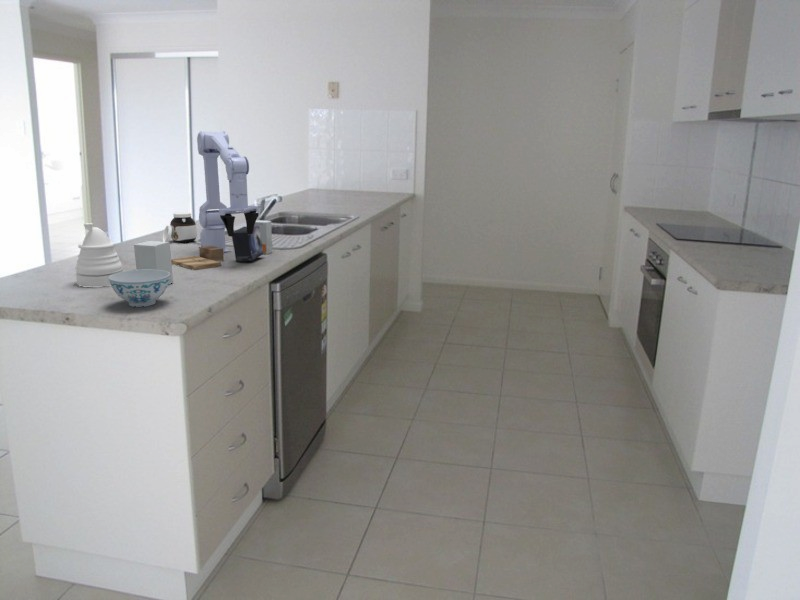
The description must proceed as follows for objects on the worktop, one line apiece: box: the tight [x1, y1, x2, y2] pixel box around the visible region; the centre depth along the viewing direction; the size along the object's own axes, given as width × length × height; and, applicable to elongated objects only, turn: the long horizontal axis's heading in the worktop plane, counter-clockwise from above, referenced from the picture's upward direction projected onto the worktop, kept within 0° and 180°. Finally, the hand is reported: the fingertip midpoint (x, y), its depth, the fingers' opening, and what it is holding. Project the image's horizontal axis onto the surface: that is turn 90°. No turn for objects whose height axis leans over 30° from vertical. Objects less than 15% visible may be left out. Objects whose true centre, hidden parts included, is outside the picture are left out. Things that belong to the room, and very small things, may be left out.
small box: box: [231, 226, 264, 263], centre depth 232 cm, size 11×6×10 cm, turn 168°
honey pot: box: [75, 222, 124, 287], centre depth 196 cm, size 13×13×18 cm
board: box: [171, 255, 222, 271], centre depth 225 cm, size 16×10×1 cm, turn 48°
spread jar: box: [162, 211, 198, 244], centre depth 265 cm, size 12×11×12 cm
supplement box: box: [133, 240, 174, 285], centre depth 195 cm, size 7×7×13 cm
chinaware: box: [109, 269, 170, 308], centre depth 175 cm, size 15×15×8 cm
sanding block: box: [198, 246, 225, 262], centre depth 233 cm, size 8×4×4 cm, turn 48°
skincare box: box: [254, 219, 273, 255], centre depth 245 cm, size 6×4×12 cm
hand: (240, 235), depth 222 cm, fingers open, 7 cm apart
